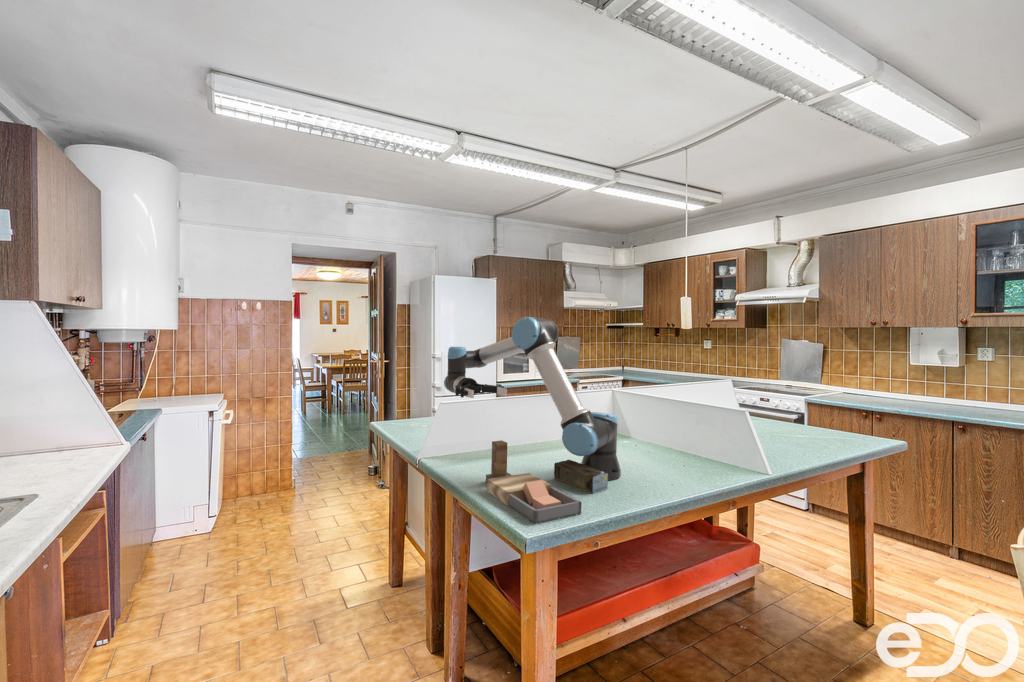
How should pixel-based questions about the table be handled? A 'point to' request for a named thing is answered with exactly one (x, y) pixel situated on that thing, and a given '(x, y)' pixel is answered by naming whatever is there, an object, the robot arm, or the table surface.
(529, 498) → the tile rear
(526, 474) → the board
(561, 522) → the table surface
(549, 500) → the tile front
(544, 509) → the tray
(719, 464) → the table surface
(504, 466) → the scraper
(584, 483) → the beverage carton
